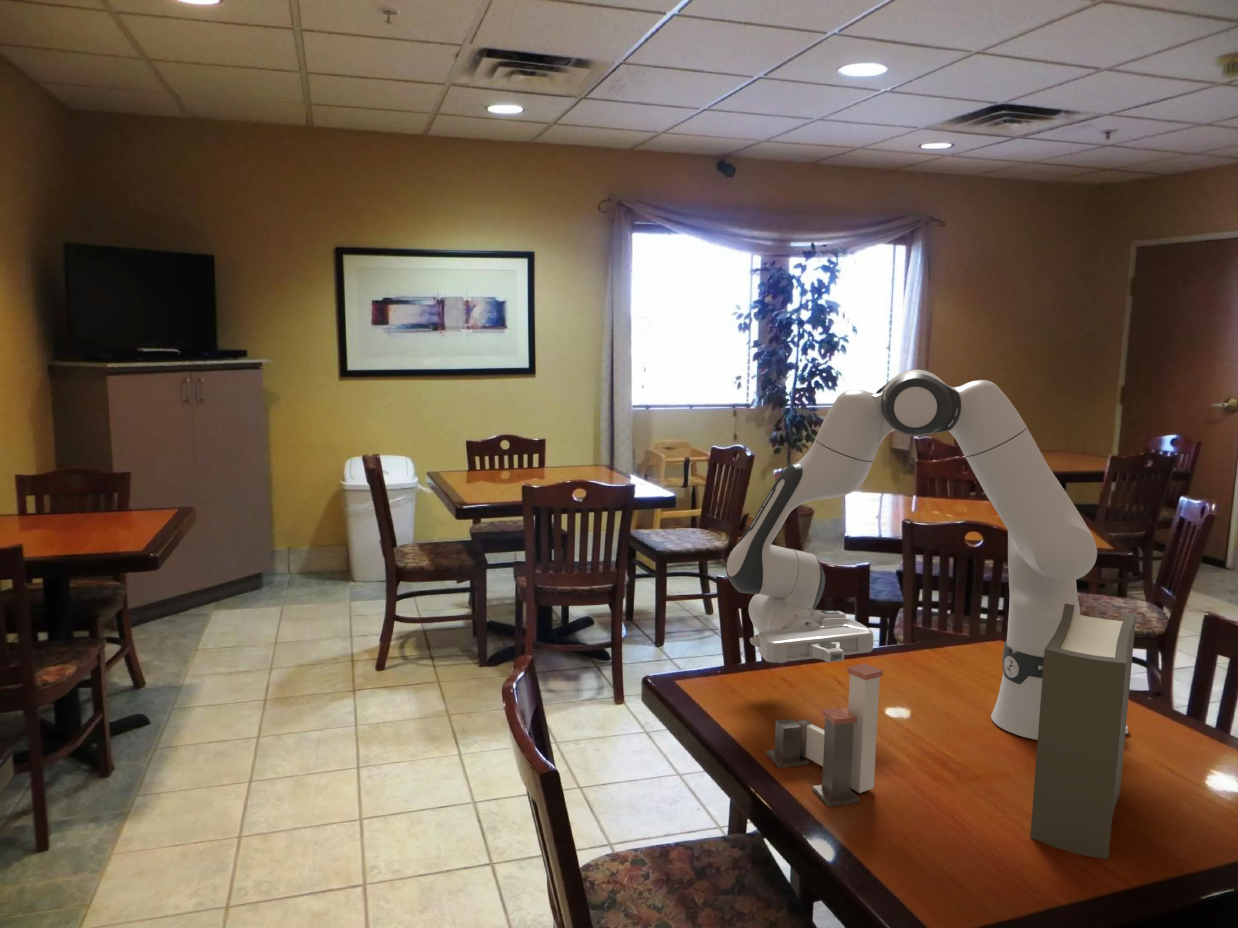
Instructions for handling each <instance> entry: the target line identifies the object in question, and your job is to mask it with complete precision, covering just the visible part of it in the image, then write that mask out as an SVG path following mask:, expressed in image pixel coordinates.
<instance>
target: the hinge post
mask: <svg viewBox="0 0 1238 928" xmlns="http://www.w3.org/2000/svg"><path fill="white" fill-rule="evenodd" d="M774 732H775V733H774V749H768V750H765V755H766V756H767V757H768V758H769V759H770V760H771V761H772V762H773V763H774V764H775V765H776V766H777V768H778V769H782V768H783V769H784V768H791V767H792V768H793V767H802V766H808V765H809V760H807V759H808V758H807V757H806V756H802V755H800V742H801V726H800V725H799V724H798V721H795V719H792V718H790V719H781V720H775V730H774Z"/></svg>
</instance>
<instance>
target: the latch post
mask: <svg viewBox="0 0 1238 928" xmlns="http://www.w3.org/2000/svg"><path fill="white" fill-rule="evenodd" d="M822 715H823V717H824V730H825V733H824V754H823V766H822V777H821V778H822V779H821V784H819V785H812V791H813V792H814V793H815V794H816V795H817V797H819V799H820V800H821V801H823V802H824V804H825V805H826V806H827V807H836V806H842V805H844V806H845V805H850V804H859V803H860V801H861V799H860V797H859V796H858V795H857V794H855V793H854V791H853V790H851V770H852V751H853V731H854V723H857V717H856V716H855V715H854V714H852V713H851V712H850V711H849V710H848V708H846V707H836V708H827V709H825V708H824V709H822Z"/></svg>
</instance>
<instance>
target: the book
mask: <svg viewBox="0 0 1238 928" xmlns="http://www.w3.org/2000/svg"><path fill="white" fill-rule="evenodd" d="M1136 620H1137V614H1136V613H1131V612H1130V613H1129V612H1125V614H1124V617H1123V620H1114V619H1107V618H1098V617H1092V616H1088V615H1087V616H1086V615H1082V614H1079V615H1078V614H1074V605H1072V604H1065V605H1064V610H1063V614H1062V619H1061V621H1060V624H1059V626H1058V628H1057V630H1056V632H1055V634H1054V636H1053V637H1052V638H1051V640H1050V641H1049V643H1048V644H1047V646H1046V647H1045V650H1044V663H1043V676H1042V689H1041V703H1040V716H1039V729H1038V740H1037V742H1036V743H1037V745H1036V759H1035V771H1034V781H1033V782H1034V785H1033V796H1032V797H1033V798H1032V807H1031V808H1032V810H1031V811H1032V812H1031V823H1030V836H1029V838H1031V839H1033V840H1036V841H1039V842H1040V843H1043V844H1045V845H1048V846H1050V847H1052V848H1056V849H1059V850H1063V851H1066V852H1070V853H1074V854H1077V855H1081V856H1085V857H1091V858H1097V859H1103V860H1109V855H1110V845H1111V834H1112V824H1113V818H1114V813H1115V809H1116V808H1115V807H1116V805H1117V803H1118V799H1119V797H1120V794H1121V785H1122V773H1123V762H1124V754H1125V753H1124V750H1125V742H1126V734H1125V731H1126V725H1127V719H1128V718H1127V717H1128V708H1129V707H1128V706H1129V699H1130V698H1129V696H1130V689H1131V688H1130V685H1131V676H1132V675H1131V674H1132V666H1133V665H1132V664H1133V654H1134V653H1133V652H1134V643H1135V634H1136V633H1135V631H1136V622H1137V621H1136Z"/></svg>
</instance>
